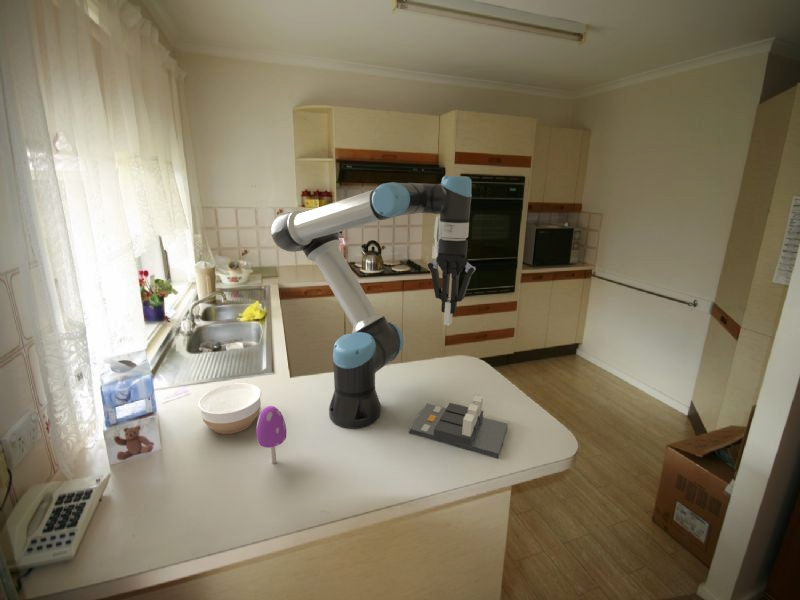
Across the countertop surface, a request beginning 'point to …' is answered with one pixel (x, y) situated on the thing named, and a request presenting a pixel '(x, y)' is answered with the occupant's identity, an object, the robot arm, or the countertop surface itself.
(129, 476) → the countertop surface
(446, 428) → the breaker housings
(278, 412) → the toy
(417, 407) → the countertop surface
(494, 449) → the panel
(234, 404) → the bowl
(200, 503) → the countertop surface
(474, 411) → the handle
